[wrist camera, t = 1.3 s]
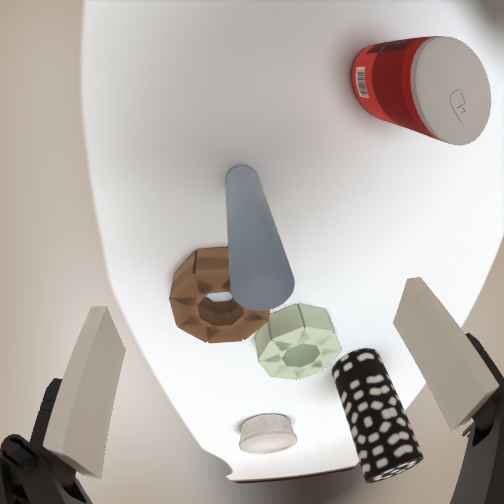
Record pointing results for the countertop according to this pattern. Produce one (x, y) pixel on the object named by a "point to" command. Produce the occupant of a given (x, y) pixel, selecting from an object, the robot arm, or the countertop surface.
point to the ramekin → (266, 434)
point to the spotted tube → (375, 416)
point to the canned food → (425, 87)
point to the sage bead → (297, 342)
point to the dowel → (254, 245)
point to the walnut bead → (205, 310)
